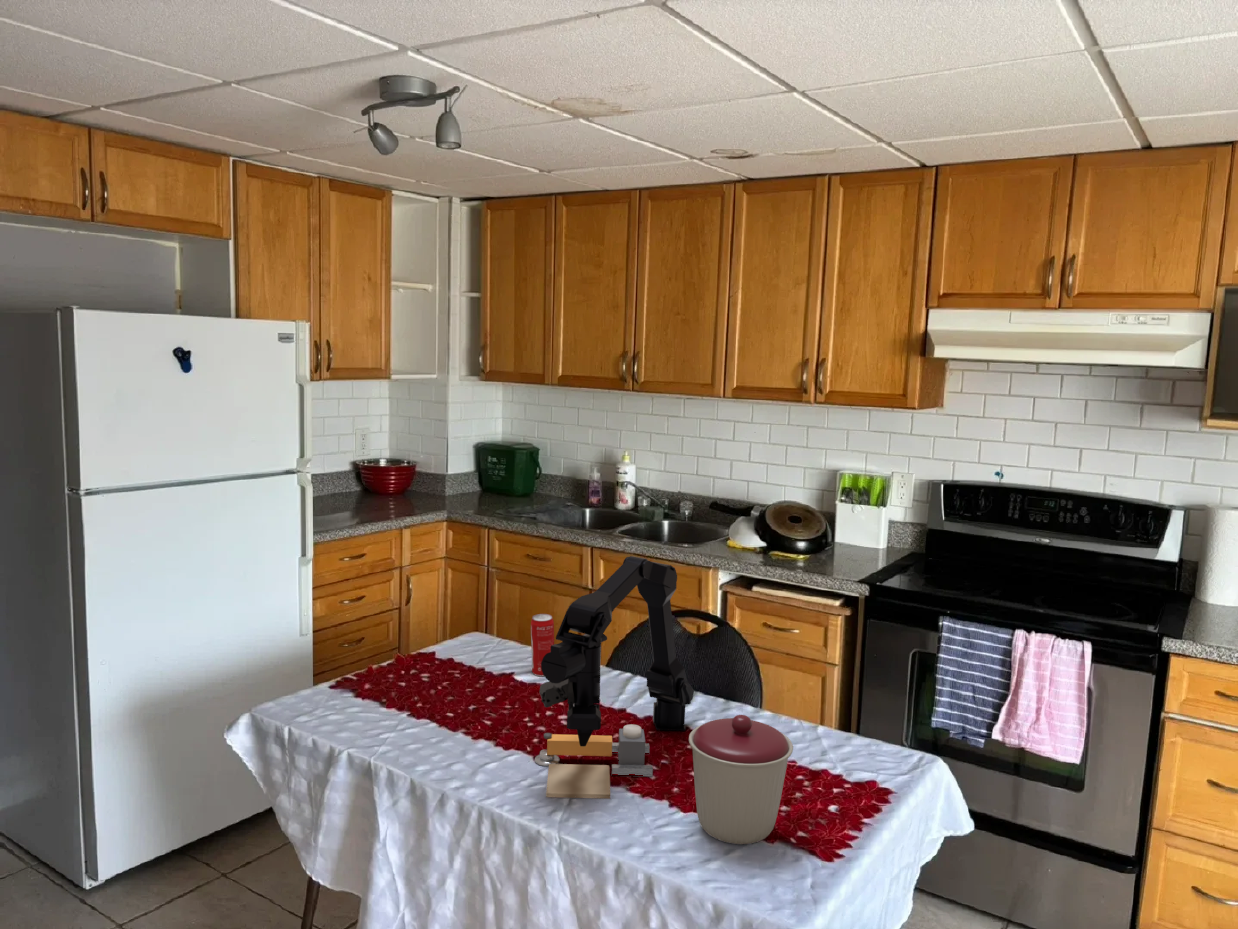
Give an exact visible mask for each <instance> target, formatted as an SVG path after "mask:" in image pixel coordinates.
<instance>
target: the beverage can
mask: <svg viewBox="0 0 1238 929" xmlns="http://www.w3.org/2000/svg"><path fill="white" fill-rule="evenodd" d="M530 621H531V622H530V637H531V640H530V642H531V643H530V644H531V672H532V674H533V675H535V676H537V677H545V676H544V675H543V672H542V669H541V662H542V660H543V657H544V656H545V655H546V654H547V653H549V652H551V646H552V645H554V644H555V623H554V619H553V616H552V615H551V614H547V613H539V614H535V615H532V618H531V620H530Z"/></svg>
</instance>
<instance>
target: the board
mask: <svg viewBox="0 0 1238 929" xmlns="http://www.w3.org/2000/svg"><path fill="white" fill-rule="evenodd" d="M610 773H611V772H610V765H607V764H567V763H564V764H563V763H558V764H549V766H548V771H547V781H546V789H545V790H546V792H545V797H546V798H565V799H566V798H567V799H569V798H570V799H603V800H604V799H607V800H611V776H610Z"/></svg>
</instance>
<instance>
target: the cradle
mask: <svg viewBox="0 0 1238 929" xmlns="http://www.w3.org/2000/svg"><path fill="white" fill-rule="evenodd" d="M650 747H651V746H650V743H646V742H645V753H649V754H650ZM618 748H619V742H612V752H618ZM534 763H535V764H536V765H538V766H541V767H549V764H560V757H559V755H547V748H546V749H541V750H540V751H539V754H538V755H537V754H536V756H535V757H534ZM653 768H654V766H653V765H651V764H647V765H646V764H644V765H619V764H615V763H614V764H611V775H612V774H618V775H629V774H635V775H643V776H642V777H653V772H654V770H653Z"/></svg>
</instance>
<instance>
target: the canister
mask: <svg viewBox="0 0 1238 929" xmlns="http://www.w3.org/2000/svg"><path fill="white" fill-rule="evenodd" d="M688 743H689V745H690V747H691V749H692V762H693V763H692V764H693V778H694V794H695V803H696V814H697V818H698V821H699V824H700V826H701V828H702V829H703V830H704V832H706V833H707V834H708V836H711V837H712V838H715V839H716V840H719V841H721V842H725V843H729V844H734V845H748V844H750V845H751V844H753V843H754V844H755V843H758V842H761V841H762V840H765V839H766V838H767V837H768V836H770V834H771V833H772V831H773V830H774V828H775V825H776V822H777V817H778V813H779V808H780V805H781V799H782V796H783V795H782V793H783V788H784V782H785V777H786V771H787V768H788V767H787V766H788V762H789V761H788V760H789V758H790V757H791V755H792V754H793V751H794V746H793V745H794V744H793V742H792V741H791V740H790V738H789V737H788V736H787V735H785V734H784V733H783V732H781V731H779V729H776V728H775V727H773V726H772V725H769V724H767V723H764V722H760V721H757V720H752V719H751V718H750V717H749V716H747V715H745V714H736V715H735V716H734V717H732V718H731V717H728V718H720V719H713V720H710V721H707V722H705V723H702V724H700V725H698V726H696V727H695V728H694V729H692V731H691V732H690V733H689V735H688Z"/></svg>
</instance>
